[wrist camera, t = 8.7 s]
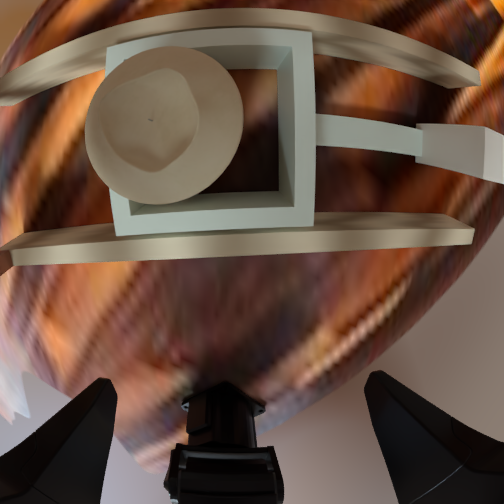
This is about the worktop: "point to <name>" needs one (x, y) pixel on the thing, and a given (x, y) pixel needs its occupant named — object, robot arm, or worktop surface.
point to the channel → (254, 239)
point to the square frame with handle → (293, 138)
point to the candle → (164, 125)
